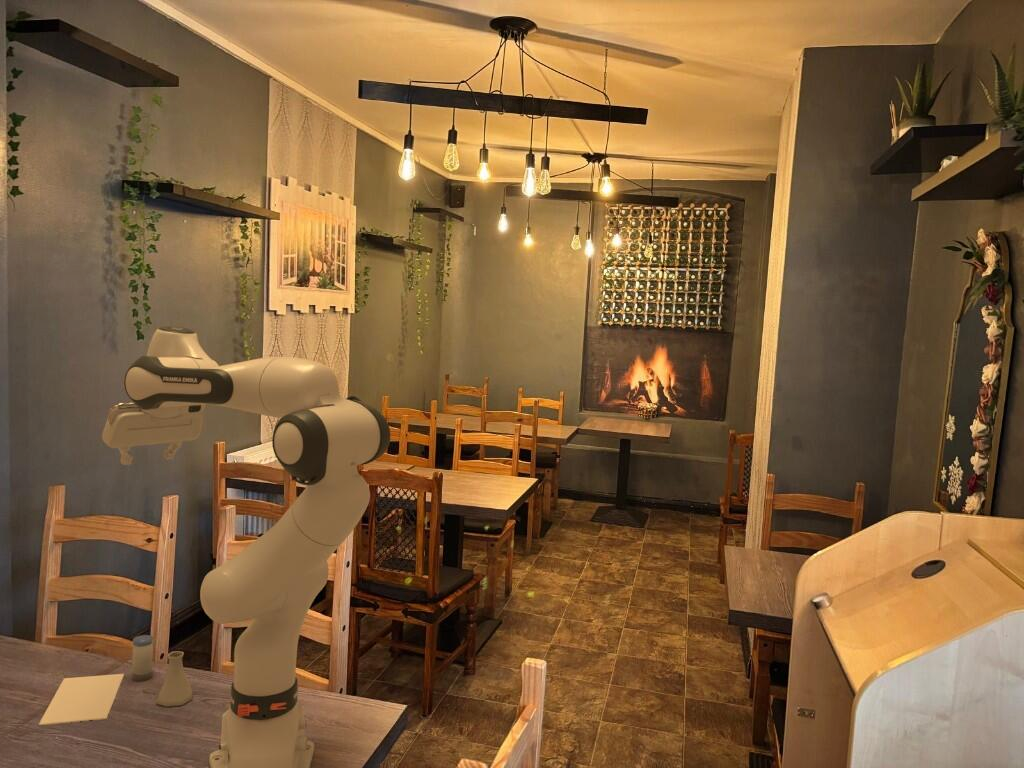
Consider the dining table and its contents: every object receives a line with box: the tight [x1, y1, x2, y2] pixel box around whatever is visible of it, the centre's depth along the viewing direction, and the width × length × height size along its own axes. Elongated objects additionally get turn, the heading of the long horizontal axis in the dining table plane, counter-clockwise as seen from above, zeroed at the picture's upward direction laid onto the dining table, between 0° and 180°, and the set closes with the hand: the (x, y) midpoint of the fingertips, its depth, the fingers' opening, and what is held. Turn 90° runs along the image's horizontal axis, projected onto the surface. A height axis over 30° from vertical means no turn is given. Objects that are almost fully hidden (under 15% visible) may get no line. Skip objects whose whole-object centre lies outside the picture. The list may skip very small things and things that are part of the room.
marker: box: [131, 634, 154, 682], centre depth 173 cm, size 4×4×9 cm
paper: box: [38, 673, 125, 726], centre depth 163 cm, size 20×12×1 cm, turn 18°
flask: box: [155, 650, 194, 707], centre depth 164 cm, size 7×7×10 cm
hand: (147, 461), depth 162 cm, fingers open, 8 cm apart
